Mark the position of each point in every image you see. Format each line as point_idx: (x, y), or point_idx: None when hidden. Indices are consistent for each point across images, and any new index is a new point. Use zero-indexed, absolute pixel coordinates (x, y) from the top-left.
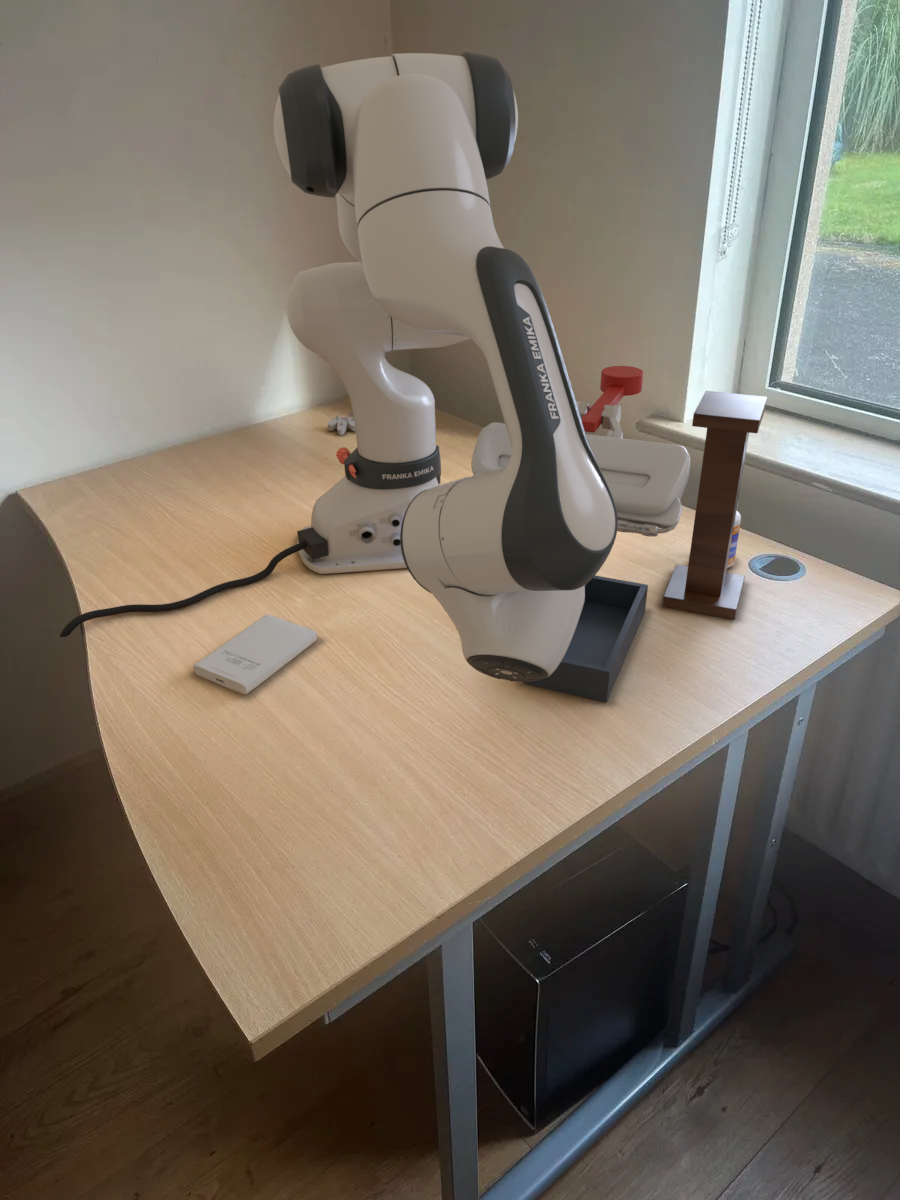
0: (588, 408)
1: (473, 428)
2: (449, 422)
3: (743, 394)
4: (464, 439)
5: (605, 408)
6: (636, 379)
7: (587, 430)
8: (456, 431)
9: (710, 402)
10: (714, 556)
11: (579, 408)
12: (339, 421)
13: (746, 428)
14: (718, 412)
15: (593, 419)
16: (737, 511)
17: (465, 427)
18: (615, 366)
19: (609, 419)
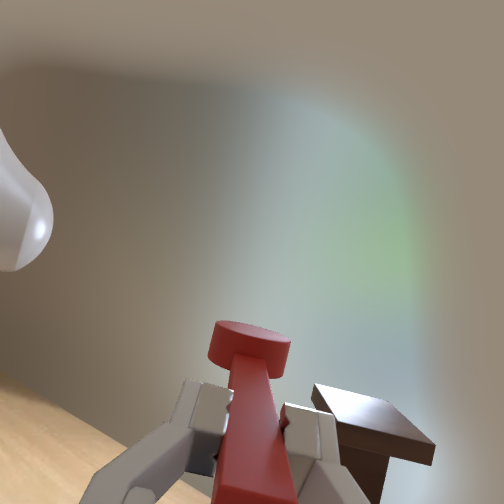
0: (228, 410)
1: (24, 386)
2: (2, 378)
3: (360, 394)
4: (8, 397)
5: (291, 419)
6: (285, 348)
7: None
8: (4, 388)
9: (338, 402)
10: None
11: (200, 408)
12: None
13: (416, 456)
14: (367, 422)
15: (275, 475)
16: None
17: (16, 384)
18: (235, 322)
19: (315, 468)
